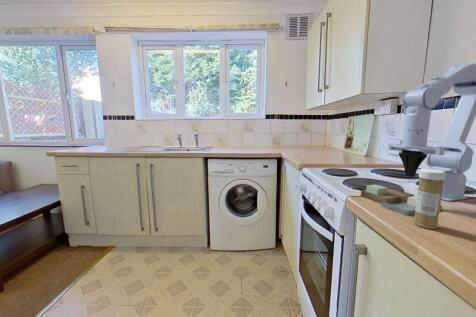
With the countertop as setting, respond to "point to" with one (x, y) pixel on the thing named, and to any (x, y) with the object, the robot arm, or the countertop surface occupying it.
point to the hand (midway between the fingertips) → (409, 176)
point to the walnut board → (387, 196)
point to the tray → (402, 207)
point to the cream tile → (412, 200)
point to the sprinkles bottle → (429, 198)
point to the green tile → (376, 189)
